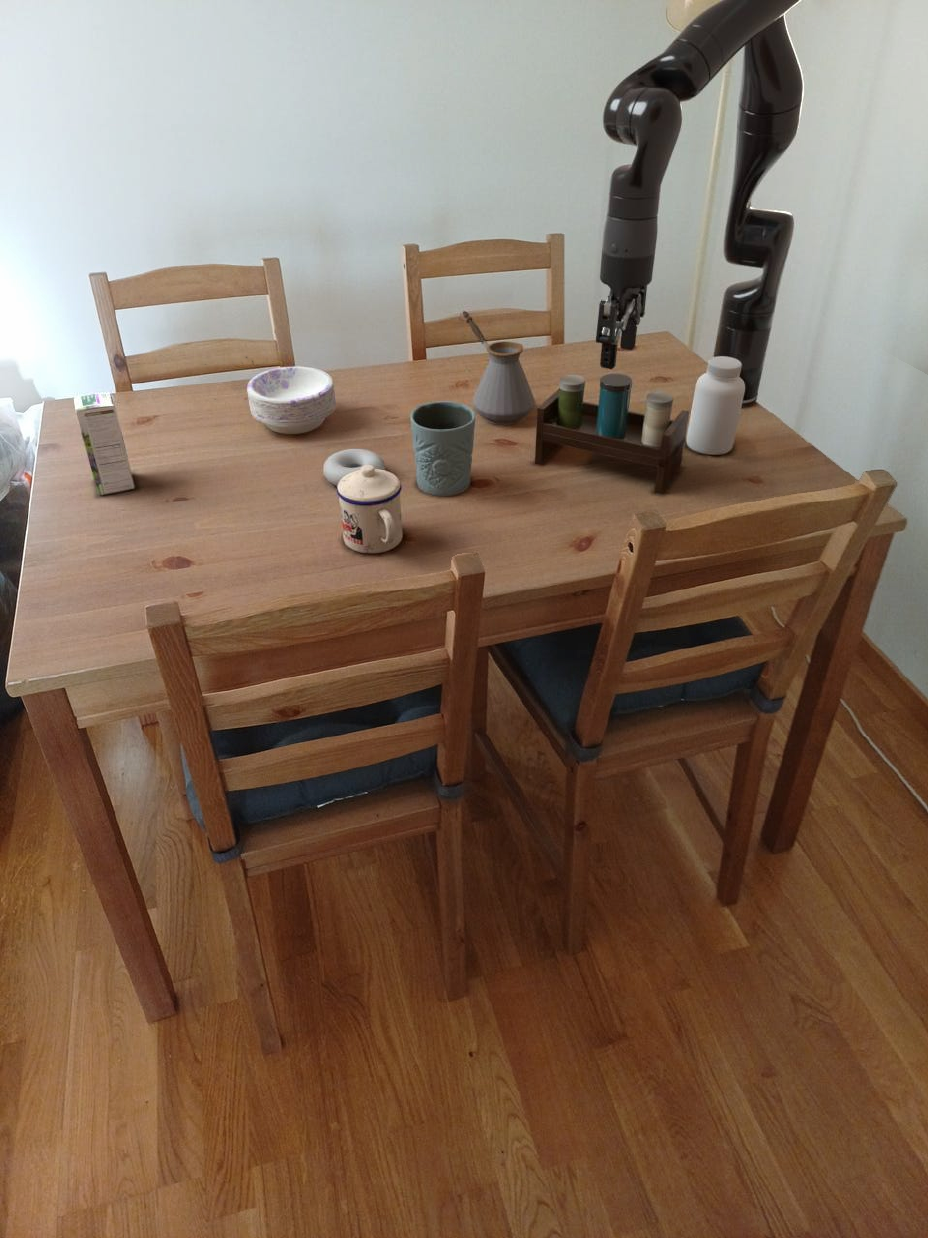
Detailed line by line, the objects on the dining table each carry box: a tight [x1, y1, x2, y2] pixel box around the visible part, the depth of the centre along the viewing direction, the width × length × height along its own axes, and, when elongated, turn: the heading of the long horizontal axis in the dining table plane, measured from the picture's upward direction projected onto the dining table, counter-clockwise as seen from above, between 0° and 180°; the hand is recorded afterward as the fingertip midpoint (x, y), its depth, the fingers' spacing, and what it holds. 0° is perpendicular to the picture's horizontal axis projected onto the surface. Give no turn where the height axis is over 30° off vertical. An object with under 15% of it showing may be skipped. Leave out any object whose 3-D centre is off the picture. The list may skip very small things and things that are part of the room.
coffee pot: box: [457, 310, 536, 426], centre depth 161 cm, size 21×12×15 cm, turn 28°
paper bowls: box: [246, 365, 337, 435], centre depth 158 cm, size 15×15×8 cm
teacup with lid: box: [336, 465, 403, 555], centre depth 124 cm, size 12×9×12 cm
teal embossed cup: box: [409, 400, 476, 497], centre depth 138 cm, size 10×10×12 cm
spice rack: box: [534, 374, 690, 495], centre depth 142 cm, size 10×22×14 cm, turn 62°
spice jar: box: [596, 373, 633, 439], centre depth 140 cm, size 5×5×9 cm
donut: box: [322, 448, 386, 487], centre depth 143 cm, size 10×4×10 cm
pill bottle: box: [685, 356, 745, 456], centre depth 147 cm, size 8×8×15 cm
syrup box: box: [73, 392, 136, 496], centre depth 138 cm, size 6×6×14 cm
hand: (617, 357), depth 135 cm, fingers open, 8 cm apart
